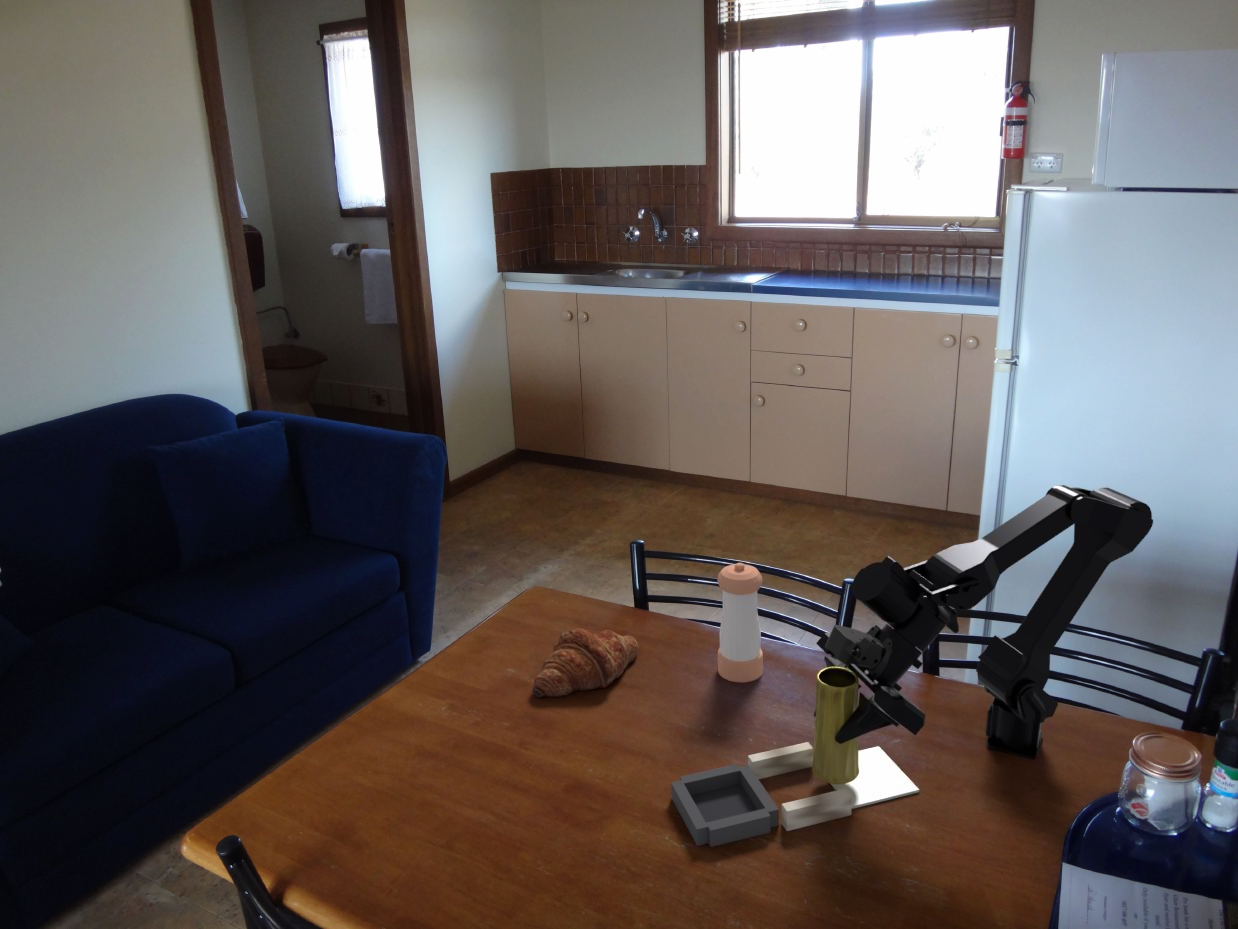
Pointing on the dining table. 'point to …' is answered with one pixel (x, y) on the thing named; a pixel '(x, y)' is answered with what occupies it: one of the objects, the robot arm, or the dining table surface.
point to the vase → (835, 726)
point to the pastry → (584, 662)
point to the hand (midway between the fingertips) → (826, 729)
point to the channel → (807, 808)
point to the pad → (877, 779)
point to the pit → (724, 805)
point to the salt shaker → (740, 624)
